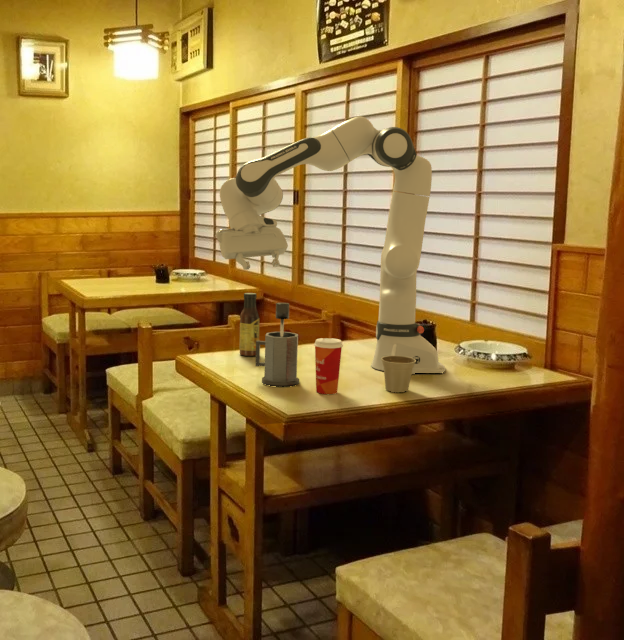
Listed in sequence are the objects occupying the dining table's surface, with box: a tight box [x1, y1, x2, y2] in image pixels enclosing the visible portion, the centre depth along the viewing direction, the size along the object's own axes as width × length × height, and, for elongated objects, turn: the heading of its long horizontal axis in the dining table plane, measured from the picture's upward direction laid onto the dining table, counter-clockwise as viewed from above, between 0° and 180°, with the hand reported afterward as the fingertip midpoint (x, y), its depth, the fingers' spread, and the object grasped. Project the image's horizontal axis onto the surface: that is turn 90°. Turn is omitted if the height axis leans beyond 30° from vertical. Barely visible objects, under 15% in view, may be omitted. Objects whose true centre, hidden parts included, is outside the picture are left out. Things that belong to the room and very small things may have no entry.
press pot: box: [255, 331, 300, 388], centre depth 217 cm, size 12×10×14 cm
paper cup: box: [313, 337, 344, 395], centre depth 209 cm, size 8×8×14 cm
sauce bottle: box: [238, 292, 261, 357], centre depth 252 cm, size 6×6×20 cm
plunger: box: [275, 302, 290, 337], centre depth 216 cm, size 6×6×18 cm
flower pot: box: [381, 356, 416, 393], centre depth 214 cm, size 9×9×9 cm
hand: (262, 267), depth 225 cm, fingers open, 8 cm apart
